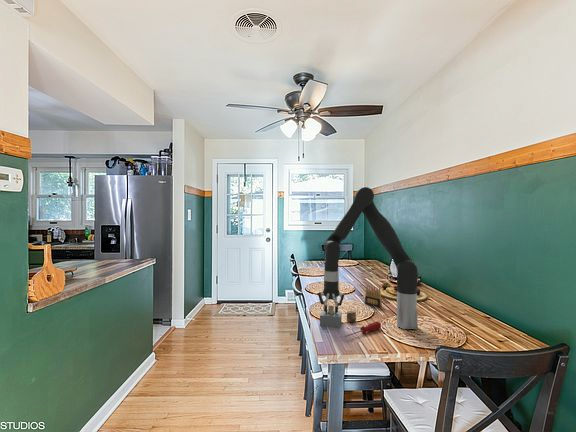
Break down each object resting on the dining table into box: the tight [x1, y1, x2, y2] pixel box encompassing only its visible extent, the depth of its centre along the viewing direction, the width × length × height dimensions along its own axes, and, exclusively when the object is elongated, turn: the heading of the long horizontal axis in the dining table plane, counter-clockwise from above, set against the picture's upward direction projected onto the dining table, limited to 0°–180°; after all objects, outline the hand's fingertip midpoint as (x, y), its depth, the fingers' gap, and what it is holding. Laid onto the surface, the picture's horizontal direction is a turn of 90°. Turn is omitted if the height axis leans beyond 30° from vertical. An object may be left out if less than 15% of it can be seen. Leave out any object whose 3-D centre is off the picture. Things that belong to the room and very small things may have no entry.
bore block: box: [319, 309, 343, 329], centre depth 153 cm, size 10×10×5 cm
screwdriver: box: [343, 321, 382, 338], centre depth 139 cm, size 4×25×4 cm, turn 128°
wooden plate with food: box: [378, 281, 428, 303], centre depth 209 cm, size 32×32×8 cm
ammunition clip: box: [364, 285, 382, 308], centre depth 185 cm, size 11×2×12 cm, turn 43°
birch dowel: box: [327, 304, 335, 315], centre depth 153 cm, size 3×3×9 cm
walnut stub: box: [346, 310, 357, 323], centre depth 156 cm, size 5×5×4 cm
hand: (331, 312), depth 153 cm, fingers open, 4 cm apart
